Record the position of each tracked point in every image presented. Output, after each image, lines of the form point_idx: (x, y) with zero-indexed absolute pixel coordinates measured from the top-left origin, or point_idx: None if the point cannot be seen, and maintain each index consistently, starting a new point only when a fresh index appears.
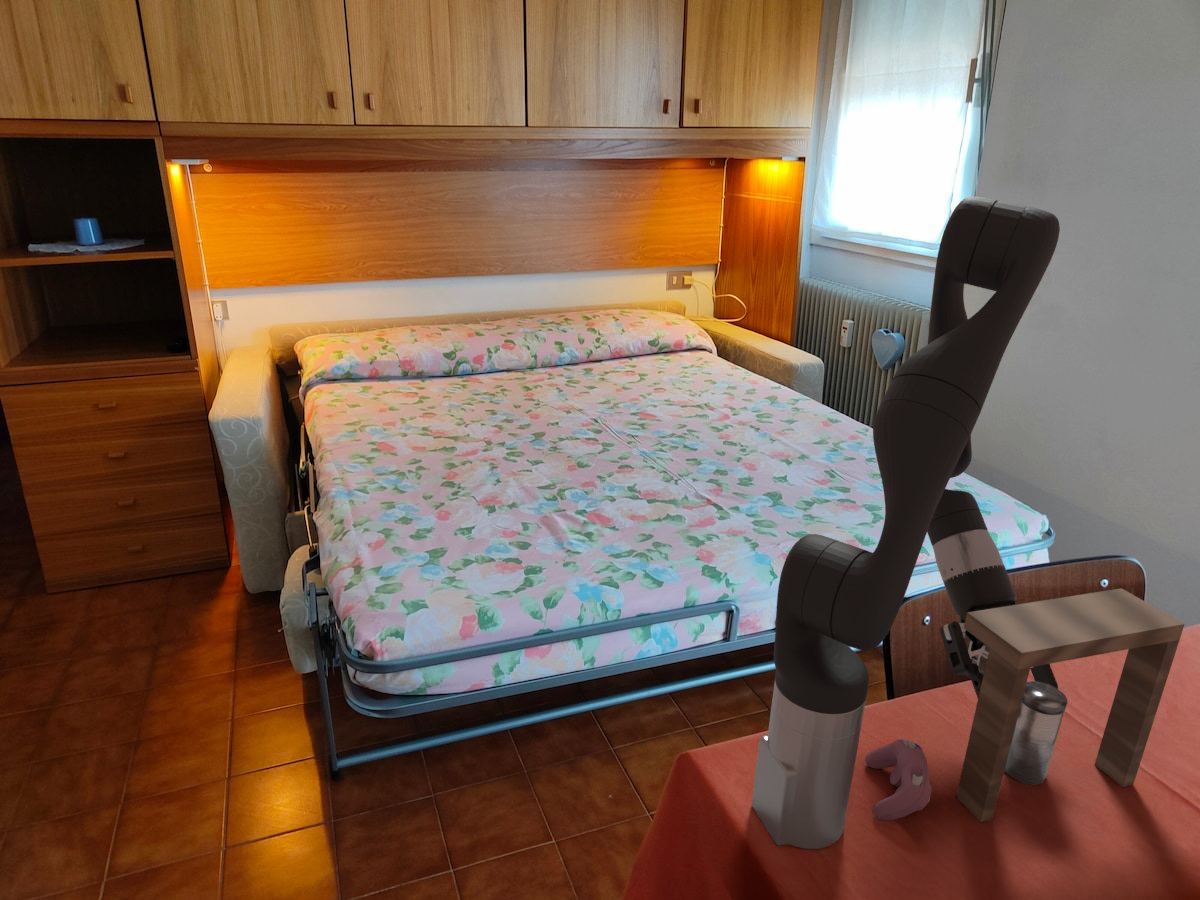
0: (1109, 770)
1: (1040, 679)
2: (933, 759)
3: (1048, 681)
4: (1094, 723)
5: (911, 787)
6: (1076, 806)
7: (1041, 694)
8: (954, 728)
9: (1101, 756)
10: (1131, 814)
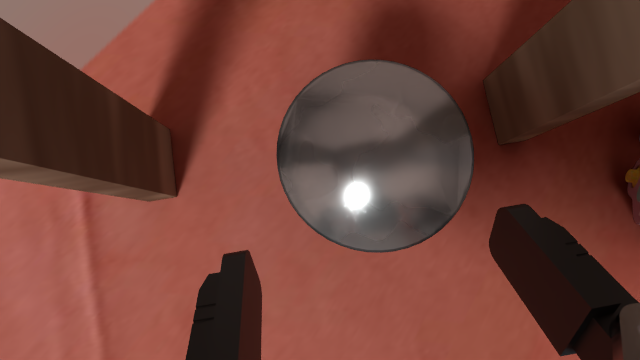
0: (167, 161)
1: (252, 332)
2: None
3: (243, 293)
4: (67, 329)
5: None
6: None
7: (386, 151)
8: (424, 346)
9: (162, 183)
10: (208, 66)
